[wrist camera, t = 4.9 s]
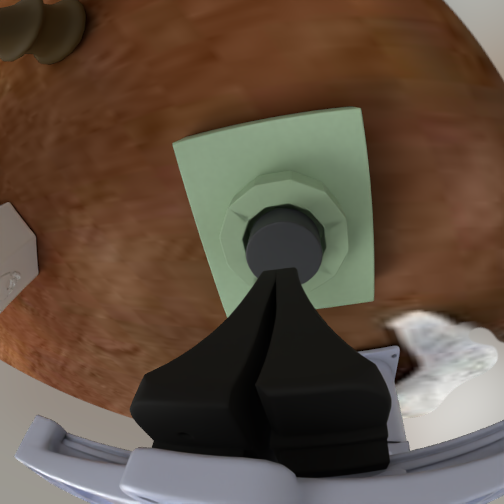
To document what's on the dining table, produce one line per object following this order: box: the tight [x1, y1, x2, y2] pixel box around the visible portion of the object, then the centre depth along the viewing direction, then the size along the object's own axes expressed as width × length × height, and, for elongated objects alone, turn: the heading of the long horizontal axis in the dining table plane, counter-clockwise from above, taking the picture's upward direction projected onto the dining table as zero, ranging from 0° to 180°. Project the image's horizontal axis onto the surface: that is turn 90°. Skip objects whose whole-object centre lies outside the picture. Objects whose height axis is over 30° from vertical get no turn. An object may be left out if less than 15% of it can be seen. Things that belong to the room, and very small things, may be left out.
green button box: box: [173, 106, 374, 318], centre depth 17 cm, size 12×10×4 cm
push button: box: [246, 208, 323, 285], centre depth 15 cm, size 4×4×2 cm
